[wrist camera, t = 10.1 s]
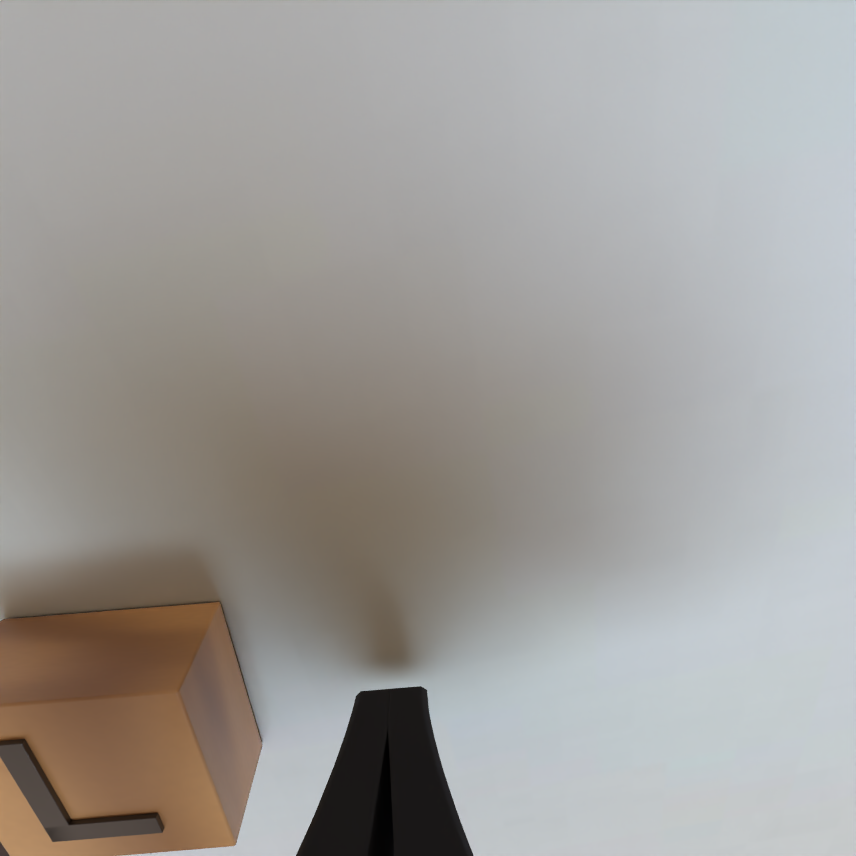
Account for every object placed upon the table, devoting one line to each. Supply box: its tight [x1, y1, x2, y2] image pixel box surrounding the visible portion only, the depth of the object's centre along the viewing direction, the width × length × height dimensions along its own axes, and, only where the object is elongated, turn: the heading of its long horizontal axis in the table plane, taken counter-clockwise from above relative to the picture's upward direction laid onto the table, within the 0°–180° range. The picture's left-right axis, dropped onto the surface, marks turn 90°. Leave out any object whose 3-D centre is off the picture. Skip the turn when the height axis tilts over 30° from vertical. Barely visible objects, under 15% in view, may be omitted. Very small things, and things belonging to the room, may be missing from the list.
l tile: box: [0, 602, 262, 856], centre depth 11 cm, size 5×5×2 cm
